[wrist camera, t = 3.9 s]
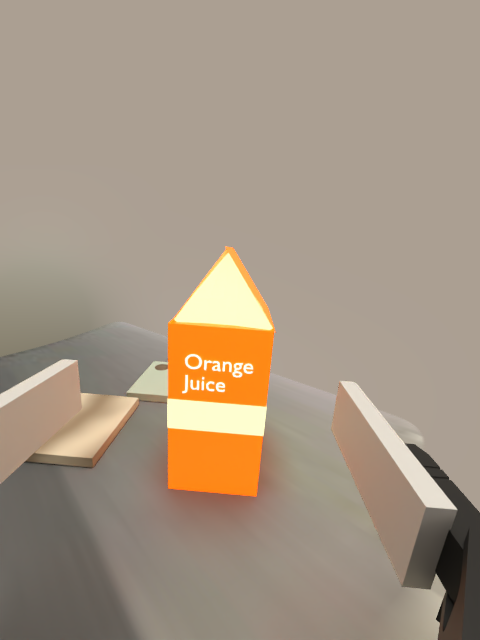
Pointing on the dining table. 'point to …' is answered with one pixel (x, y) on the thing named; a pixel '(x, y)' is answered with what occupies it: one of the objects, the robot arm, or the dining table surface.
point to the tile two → (152, 384)
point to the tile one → (87, 431)
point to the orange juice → (218, 383)
